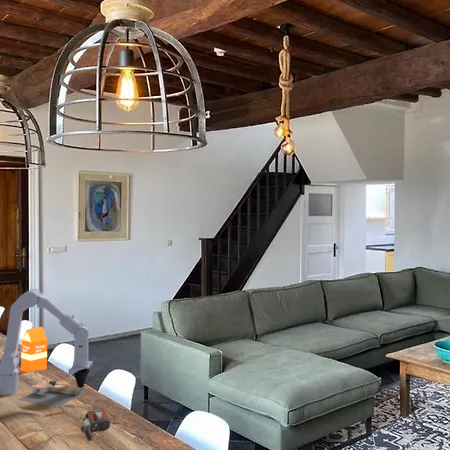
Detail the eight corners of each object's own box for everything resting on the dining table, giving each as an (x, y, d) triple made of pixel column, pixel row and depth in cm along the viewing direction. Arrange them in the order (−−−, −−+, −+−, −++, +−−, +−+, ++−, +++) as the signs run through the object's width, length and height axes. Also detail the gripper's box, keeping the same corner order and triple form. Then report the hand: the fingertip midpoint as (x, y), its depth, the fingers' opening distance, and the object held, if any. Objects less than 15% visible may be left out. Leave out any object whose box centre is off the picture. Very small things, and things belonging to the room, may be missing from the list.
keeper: (36, 391, 207) (37, 383, 207) (52, 393, 206) (52, 384, 206) (31, 395, 203) (31, 386, 203) (46, 396, 202) (47, 387, 202)
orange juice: (20, 370, 239) (21, 328, 239) (37, 366, 246) (37, 325, 246) (30, 373, 235) (31, 330, 235) (47, 369, 242) (47, 327, 242)
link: (47, 390, 208) (47, 382, 208) (52, 388, 211) (52, 380, 211) (75, 395, 203) (75, 386, 203) (79, 393, 206) (80, 384, 206)
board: (18, 402, 198) (18, 399, 198) (53, 387, 217) (53, 384, 216) (57, 409, 191) (57, 407, 191) (89, 393, 210) (89, 391, 210)
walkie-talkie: (79, 419, 184) (87, 441, 165) (79, 407, 184) (88, 428, 165) (103, 415, 187) (114, 437, 169) (104, 404, 187) (114, 424, 169)
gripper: (79, 360, 203) (78, 393, 203) (99, 351, 217) (98, 383, 217) (64, 358, 205) (63, 391, 205) (85, 350, 219) (84, 381, 219)
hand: (80, 387), depth 211 cm, fingers closed
